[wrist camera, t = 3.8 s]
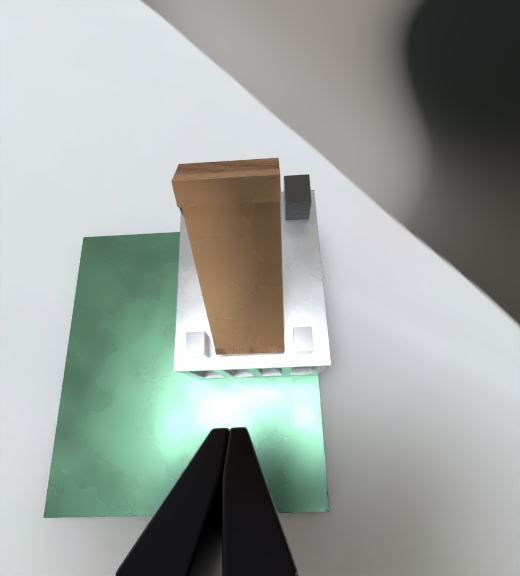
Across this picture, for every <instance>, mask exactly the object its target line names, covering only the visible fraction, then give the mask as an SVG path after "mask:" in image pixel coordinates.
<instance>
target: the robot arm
mask: <svg viewBox="0 0 520 576" xmlns="http://www.w3.org/2000/svg"><path fill="white" fill-rule="evenodd" d="M116 576H299V575H298V574H297V568H296V565H295V562H294V560H293V557H292V554H291V551H290V548H289V545H288V542H287V540H286V537H285V534H284V531H283V528H282V525H281V523H280V520H279V517H278V514H277V511H276V508H275V505H274V503H273V500H272V497H271V494H270V491H269V488H268V486H267V483H266V480H265V477H264V474H263V471H262V469H261V466H260V463H259V460H258V457H257V454H256V451H255V449H254V446H253V443H252V440H251V437H250V434H249V432H248V429H247V428H246V427H232V428H231V429H229V428H213V429H212V430H211V431H210V432H209V434H208V435H207V437H206V438H205V440H204V441H203V443H202V444H201V446H200V447H199V449H198V450H197V452H196V453H195V455H194V456H193V458H192V459H191V461H190V462H189V464H188V465H187V467H186V468H185V470H184V471H183V473H182V474H181V476H180V477H179V479H178V480H177V482H176V483H175V485H174V486H173V488H172V489H171V491H170V492H169V494H168V495H167V497H166V498H165V500H164V501H163V503H162V504H161V506H160V507H159V509H158V510H157V512H156V513H155V515H154V516H153V518H152V519H151V521H150V522H149V524H148V525H147V527H146V528H145V530H144V531H143V533H142V534H141V536H140V537H139V539H138V540H137V542H136V543H135V545H134V546H133V548H132V549H131V551H130V552H129V554H128V555H127V557H126V558H125V560H124V561H123V563H122V564H121V566H120V567H119V569H118V570H117V572H116Z"/></svg>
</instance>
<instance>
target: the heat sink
mask: <svg viewBox="0 0 520 576" xmlns="http://www.w3.org/2000/svg"><path fill="white" fill-rule="evenodd" d="M280 203H281V238H282V274H283V309H284V344H285V353H262V354H237V355H216V354H215V348H214V344H213V339H212V335H211V331H210V327H209V322H208V318H207V314H206V309H205V305H204V301H203V297H202V292H201V288H200V284H199V279H198V275H197V271H196V267H195V262H194V258H193V254H192V249H191V245H190V241H189V237H188V232H187V228H186V224H185V219H184V215H183V211H182V207H180V211H181V226H180V232H172V233H154V234H136V235H118V236H100V237H84V238H83V245H82V252H81V259H80V266H79V273H78V280H77V287H76V294H75V301H74V308H73V315H72V322H71V329H70V336H69V343H68V350H67V357H66V364H65V371H64V378H63V385H62V392H61V399H60V406H59V413H58V420H57V427H56V434H55V441H54V448H53V455H52V462H51V469H50V476H49V483H48V490H47V497H46V504H45V511H44V518H58V517H105V516H152V515H155V513H156V512H157V510H158V509H159V507H160V506H161V504H162V503H163V501H164V500H165V498H166V497H167V495H168V494H169V492H170V491H171V489H172V488H173V486H174V485H175V483H176V482H177V480H178V479H179V477H180V476H181V474H182V473H183V471H184V470H185V468H186V467H187V465H188V464H189V462H190V461H191V459H192V458H193V456H194V455H195V453H196V452H197V450H198V449H199V447H200V446H201V444H202V443H203V441H204V440H205V438H206V437H207V435H208V434H209V432H210V431H211V430H212V429H213V428H229V429H231V428H232V427H246V428H247V429H248V432H249V434H250V437H251V440H252V443H253V446H254V449H255V451H256V454H257V457H258V460H259V463H260V466H261V469H262V471H263V474H264V477H265V480H266V483H267V486H268V488H269V491H270V494H271V497H272V500H273V503H274V505H275V508H276V511H277V513H294V512H329V503H328V490H327V478H326V466H325V454H324V442H323V430H322V418H321V406H320V394H319V382H318V375H319V374H320V373H322V372H323V371H324V370H325V369H326V368H328V367H329V366H330V365H331V363H330V352H329V342H328V331H327V321H326V310H325V299H324V289H323V278H322V268H321V257H320V247H319V236H318V226H317V215H316V204H315V194H314V190H310V179H309V175H293V176H284V192H281V201H280Z"/></svg>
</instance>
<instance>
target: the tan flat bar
mask: <svg viewBox="0 0 520 576" xmlns="http://www.w3.org/2000/svg"><path fill="white" fill-rule="evenodd" d="M172 185H173V190H174V194H175V198H176V202H177V206H178V207H182V211H183V215H184V219H185V224H186V228H187V232H188V237H189V241H190V245H191V249H192V254H193V258H194V262H195V267H196V271H197V275H198V279H199V284H200V288H201V292H202V297H203V301H204V305H205V309H206V314H207V318H208V322H209V327H210V331H211V335H212V339H213V344H214V348H215V354H216V355H237V354H262V353H285V344H284V309H283V274H282V238H281V203H280V201H281V188H280V169H279V159H278V158H268V159H252V160H236V161H221V162H205V163H189V164H179V165H178V168H177V170H176V172H175V175H174V177H173V179H172Z"/></svg>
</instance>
